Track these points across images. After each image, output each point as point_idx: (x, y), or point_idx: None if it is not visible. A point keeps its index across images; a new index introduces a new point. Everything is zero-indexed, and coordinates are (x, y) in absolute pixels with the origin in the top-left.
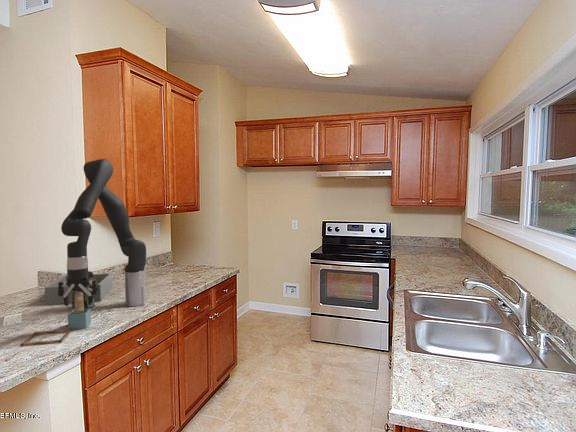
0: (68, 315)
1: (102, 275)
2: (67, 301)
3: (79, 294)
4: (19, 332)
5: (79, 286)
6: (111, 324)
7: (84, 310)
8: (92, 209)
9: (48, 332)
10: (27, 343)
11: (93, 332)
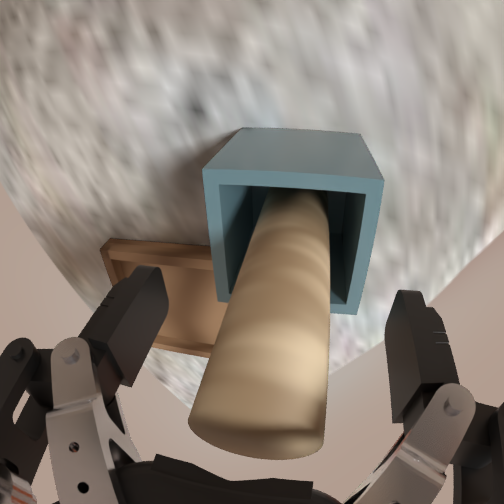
0: (224, 299)
1: None
2: (148, 340)
3: (280, 457)
4: (30, 180)
5: None
6: (481, 189)
7: (322, 185)
8: None
9: (159, 261)
10: (154, 346)
11: (390, 278)
